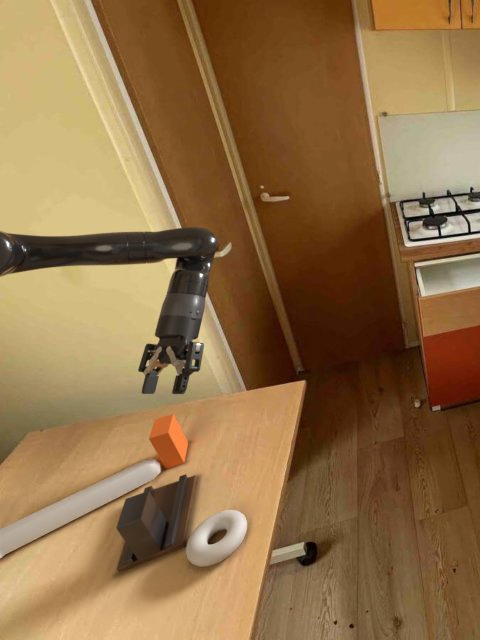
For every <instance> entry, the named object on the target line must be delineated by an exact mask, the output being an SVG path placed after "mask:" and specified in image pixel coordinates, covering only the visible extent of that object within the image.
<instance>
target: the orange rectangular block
mask: <svg viewBox="0 0 480 640" xmlns="http://www.w3.org/2000/svg"><path fill="white" fill-rule="evenodd" d="M148 440H149V442H150V443H151V445H152V447H153V449H154V450H155V452H156V454H157V456H158V457H159V459H160V461H161V464H162V465H163V466H164V468H165V469H166V470H167V469H170V468H172V467H176V466H179V465H182V464H184V463H185V462H186V461H185V460H186V456H187V451H188V446H189V442H188V440H187V438H186V436H185V433H184V432H183V430H182V427H181V426H180V424H179V422H178V420H177V418H176V416H175V414H174V413H171V414H168V415H164V416H161V417H157V418H155V419H154V421H153V425H152V428H151V431H150V433H149V437H148Z"/></svg>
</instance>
